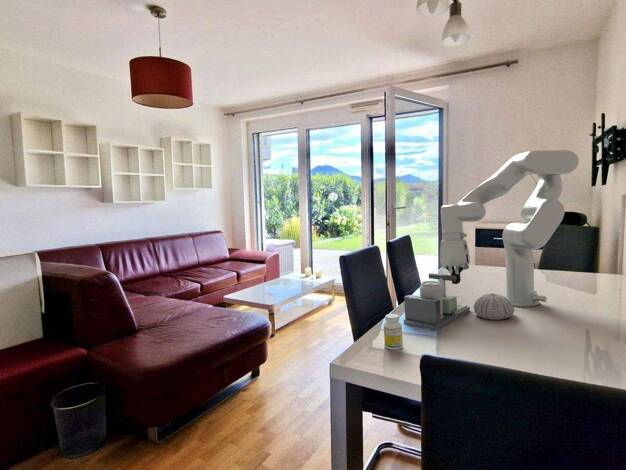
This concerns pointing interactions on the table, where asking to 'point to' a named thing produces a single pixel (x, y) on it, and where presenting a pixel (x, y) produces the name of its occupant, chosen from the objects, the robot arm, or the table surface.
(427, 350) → the table surface
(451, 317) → the base
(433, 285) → the can
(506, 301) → the sea urchin shell
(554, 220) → the robot arm
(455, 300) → the grey-green handled block
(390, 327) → the supplement bottle
